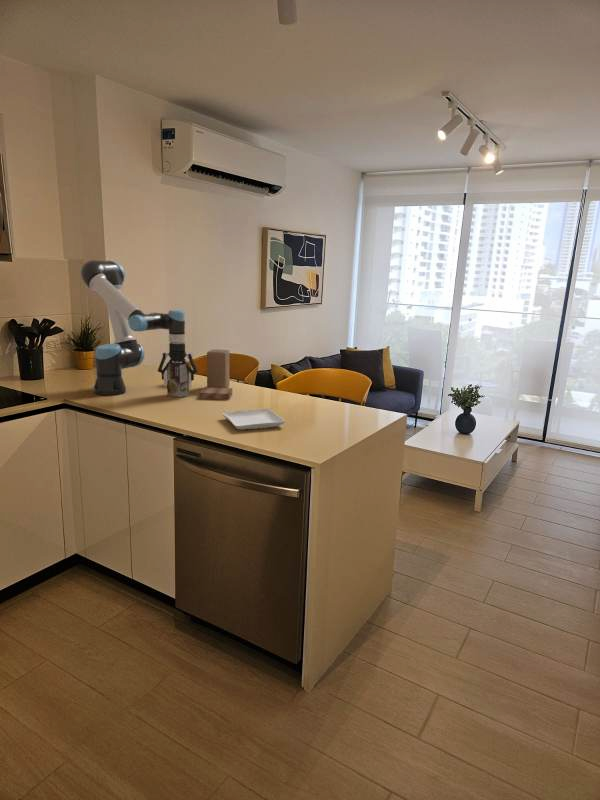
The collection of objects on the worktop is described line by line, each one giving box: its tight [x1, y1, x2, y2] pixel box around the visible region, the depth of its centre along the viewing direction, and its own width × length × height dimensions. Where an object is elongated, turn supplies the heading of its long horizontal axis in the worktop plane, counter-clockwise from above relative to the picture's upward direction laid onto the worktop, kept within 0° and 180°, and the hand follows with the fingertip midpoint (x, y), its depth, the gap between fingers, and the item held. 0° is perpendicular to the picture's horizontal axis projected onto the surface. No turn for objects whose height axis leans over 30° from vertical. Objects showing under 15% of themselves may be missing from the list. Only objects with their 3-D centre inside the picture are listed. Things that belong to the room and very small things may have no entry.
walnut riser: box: [199, 387, 233, 400], centre depth 265 cm, size 14×12×3 cm
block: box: [206, 348, 231, 388], centre depth 282 cm, size 10×10×20 cm
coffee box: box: [165, 361, 190, 398], centre depth 264 cm, size 9×6×16 cm
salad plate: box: [221, 408, 286, 431], centre depth 222 cm, size 21×21×3 cm
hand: (178, 386), depth 265 cm, fingers open, 12 cm apart
